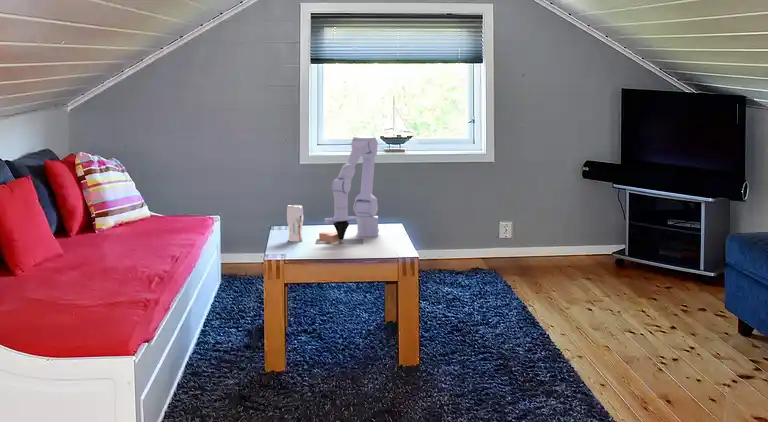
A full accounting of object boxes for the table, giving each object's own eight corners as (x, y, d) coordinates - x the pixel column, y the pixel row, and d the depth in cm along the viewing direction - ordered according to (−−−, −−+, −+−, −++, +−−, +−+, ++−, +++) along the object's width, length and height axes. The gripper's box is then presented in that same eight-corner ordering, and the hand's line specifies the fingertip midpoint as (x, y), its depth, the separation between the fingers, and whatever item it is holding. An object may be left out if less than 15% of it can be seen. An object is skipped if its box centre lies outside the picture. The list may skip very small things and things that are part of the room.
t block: (342, 239, 321) (342, 232, 320) (332, 242, 312) (332, 235, 312) (326, 237, 324) (326, 231, 323) (315, 241, 316) (315, 234, 315)
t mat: (363, 239, 322) (363, 239, 322) (363, 245, 310) (363, 244, 310) (316, 239, 321) (316, 238, 321) (314, 245, 309) (314, 244, 309)
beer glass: (290, 242, 314) (290, 207, 312) (284, 239, 320) (284, 205, 318) (305, 241, 317) (305, 206, 315) (300, 238, 324) (299, 204, 321)
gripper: (351, 205, 320) (351, 236, 322) (321, 207, 313) (321, 239, 315) (359, 207, 314) (359, 238, 316) (328, 209, 307) (328, 241, 309)
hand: (341, 239), depth 315 cm, fingers closed
